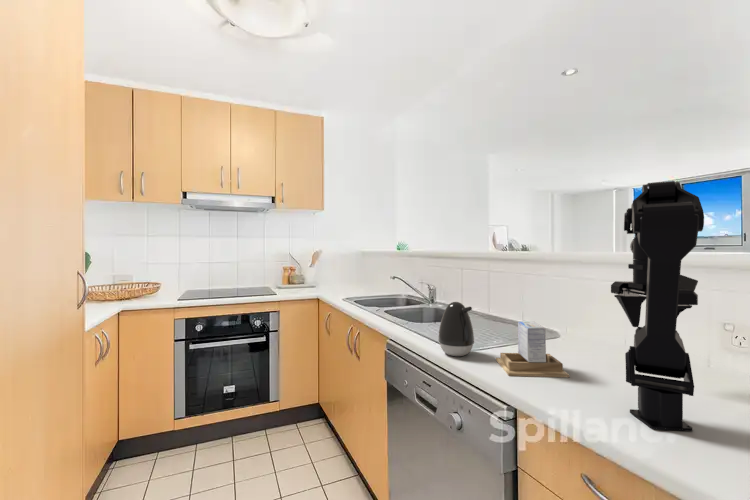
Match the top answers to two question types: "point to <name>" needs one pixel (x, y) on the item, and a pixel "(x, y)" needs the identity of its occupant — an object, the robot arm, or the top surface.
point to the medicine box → (532, 341)
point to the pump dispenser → (456, 330)
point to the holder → (531, 366)
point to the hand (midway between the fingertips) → (649, 331)
